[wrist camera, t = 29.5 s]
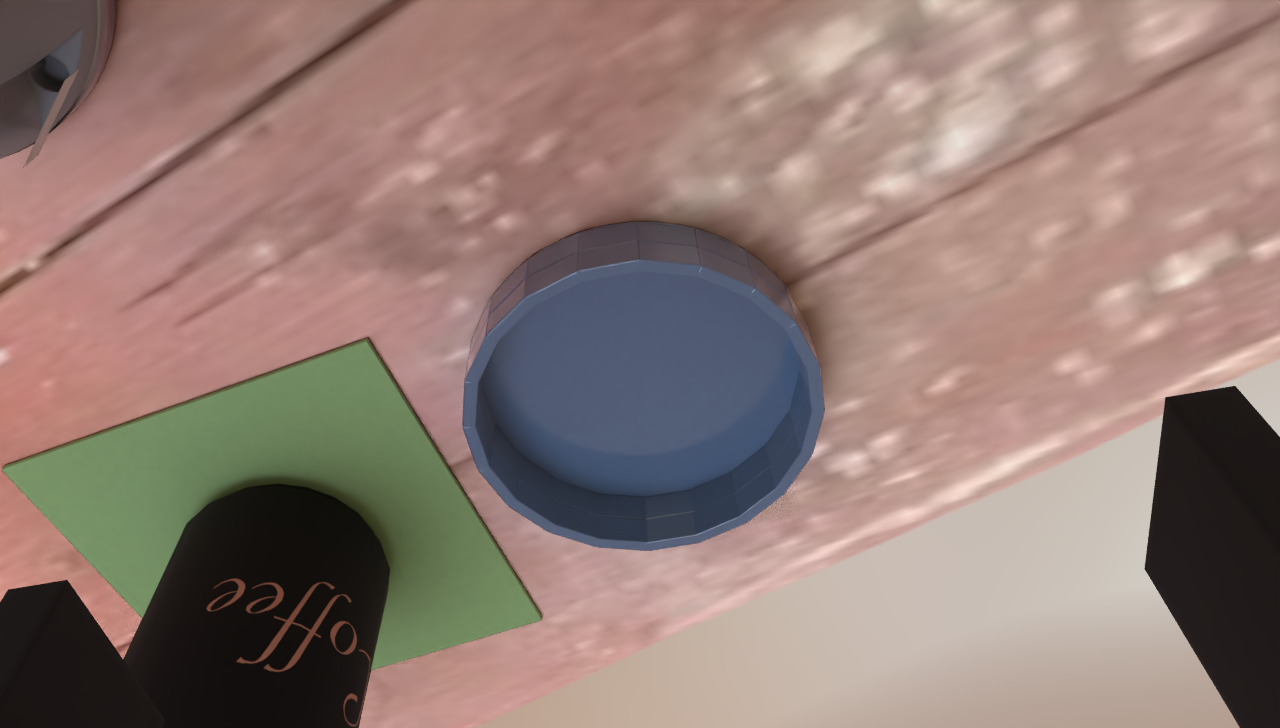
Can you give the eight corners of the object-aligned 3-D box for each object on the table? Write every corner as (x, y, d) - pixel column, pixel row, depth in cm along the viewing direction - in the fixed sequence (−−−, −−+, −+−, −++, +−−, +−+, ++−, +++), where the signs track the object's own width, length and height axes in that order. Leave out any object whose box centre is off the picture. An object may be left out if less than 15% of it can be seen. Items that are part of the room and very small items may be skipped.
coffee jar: (436, 568, 56) (379, 899, 41) (288, 648, 59) (186, 983, 44) (293, 439, 51) (170, 765, 36) (139, 534, 54) (-34, 871, 39)
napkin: (231, 707, 62) (230, 711, 62) (3, 465, 51) (0, 469, 51) (542, 616, 59) (542, 620, 59) (367, 337, 48) (366, 341, 48)
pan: (518, 523, 55) (513, 573, 52) (427, 257, 46) (416, 299, 43) (823, 472, 54) (837, 521, 51) (791, 190, 45) (805, 228, 42)
